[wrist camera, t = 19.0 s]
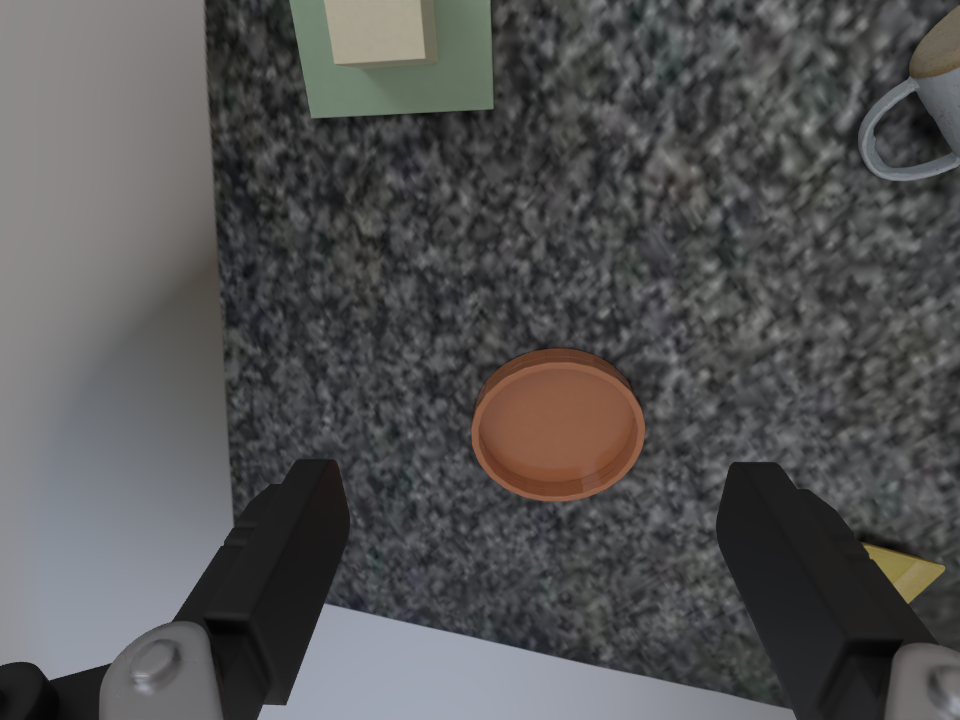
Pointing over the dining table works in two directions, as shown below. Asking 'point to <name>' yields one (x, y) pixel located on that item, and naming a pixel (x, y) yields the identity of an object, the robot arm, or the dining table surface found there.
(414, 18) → the block
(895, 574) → the saucer
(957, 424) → the dining table surface
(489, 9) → the mat
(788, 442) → the dining table surface
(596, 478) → the terracotta dish
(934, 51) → the ceramic mug
